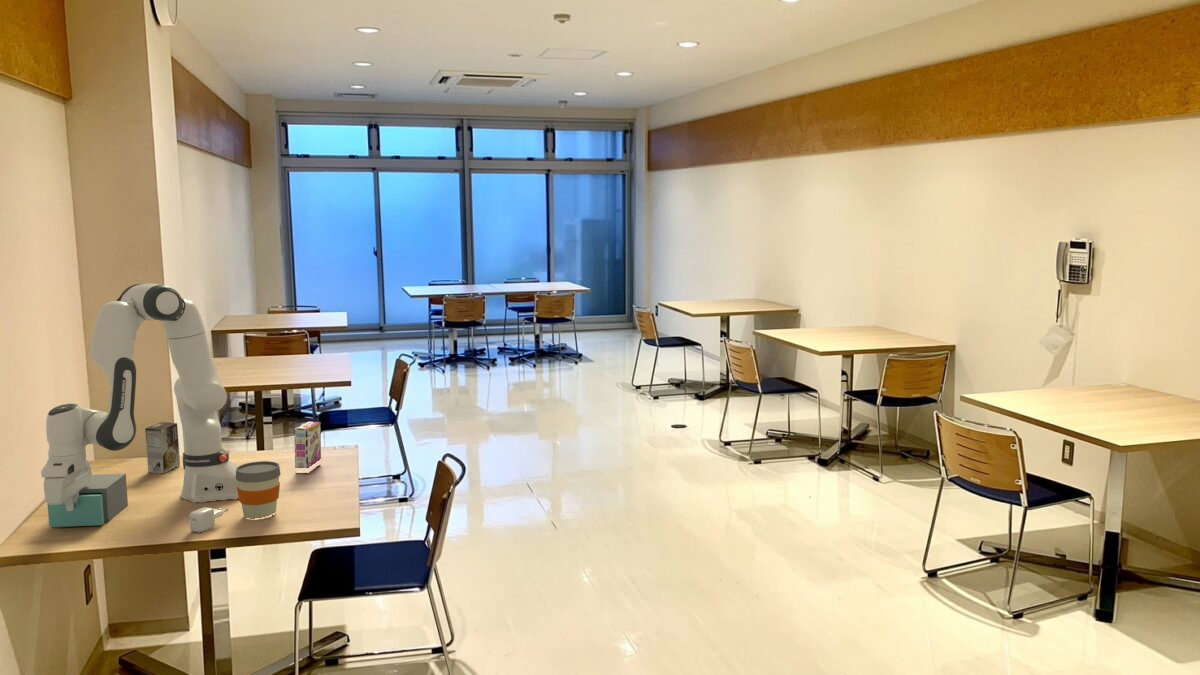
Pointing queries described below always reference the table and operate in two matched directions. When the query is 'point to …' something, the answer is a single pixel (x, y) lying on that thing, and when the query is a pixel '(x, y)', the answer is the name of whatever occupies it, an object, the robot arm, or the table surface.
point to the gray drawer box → (109, 493)
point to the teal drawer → (78, 512)
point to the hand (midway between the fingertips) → (71, 509)
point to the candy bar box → (307, 444)
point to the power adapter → (204, 518)
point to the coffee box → (162, 447)
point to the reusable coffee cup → (258, 488)
